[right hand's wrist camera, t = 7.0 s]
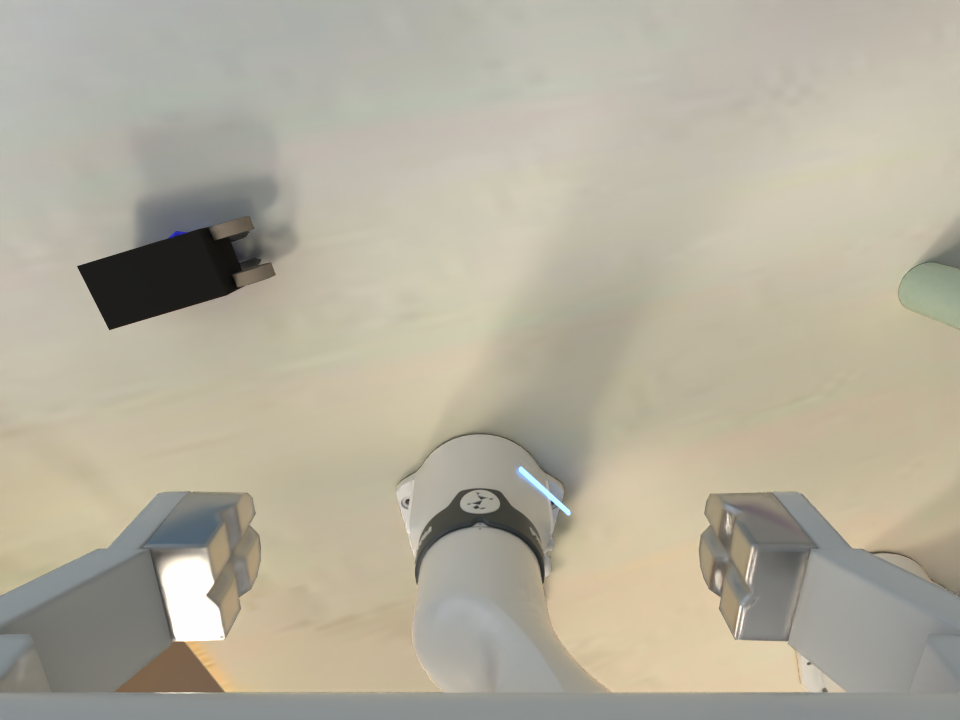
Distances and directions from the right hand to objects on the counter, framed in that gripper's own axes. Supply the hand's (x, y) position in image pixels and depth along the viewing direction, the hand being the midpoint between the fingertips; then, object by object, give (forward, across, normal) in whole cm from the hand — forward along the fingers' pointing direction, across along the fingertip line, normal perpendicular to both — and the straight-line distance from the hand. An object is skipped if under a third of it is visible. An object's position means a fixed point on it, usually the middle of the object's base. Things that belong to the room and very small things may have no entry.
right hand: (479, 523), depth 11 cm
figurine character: (+48, -27, -5) cm, 55 cm away
